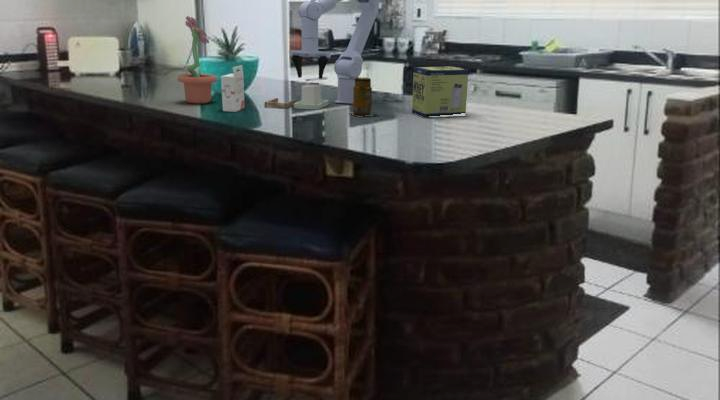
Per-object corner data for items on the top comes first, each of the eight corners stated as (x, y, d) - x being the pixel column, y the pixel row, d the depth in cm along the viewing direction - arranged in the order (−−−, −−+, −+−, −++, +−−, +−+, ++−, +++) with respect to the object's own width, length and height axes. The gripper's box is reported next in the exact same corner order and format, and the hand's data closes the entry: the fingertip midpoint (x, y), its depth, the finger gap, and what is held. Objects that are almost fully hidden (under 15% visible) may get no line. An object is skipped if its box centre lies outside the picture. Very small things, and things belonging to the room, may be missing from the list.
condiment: (366, 112, 216) (367, 76, 212) (378, 116, 208) (379, 79, 205) (347, 113, 213) (347, 77, 209) (358, 117, 205) (359, 80, 202)
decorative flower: (225, 104, 227) (221, 16, 218) (188, 106, 220) (182, 16, 211) (209, 98, 239) (205, 15, 230) (173, 101, 231) (167, 15, 222)
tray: (328, 104, 230) (328, 100, 230) (318, 109, 219) (318, 105, 218) (305, 103, 232) (304, 98, 232) (293, 108, 221) (293, 103, 220)
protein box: (410, 113, 216) (412, 66, 211) (451, 111, 221) (454, 66, 216) (424, 118, 206) (426, 69, 202) (466, 116, 211) (469, 69, 207)
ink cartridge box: (231, 107, 220) (229, 64, 216) (245, 108, 219) (243, 64, 215) (221, 111, 212) (219, 66, 208) (235, 112, 211) (233, 67, 207)
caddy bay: (297, 104, 230) (297, 99, 229) (286, 108, 220) (286, 103, 219) (276, 102, 232) (275, 97, 231) (264, 107, 222) (264, 102, 221)
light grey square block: (320, 103, 229) (320, 82, 226) (313, 107, 221) (313, 85, 219) (308, 103, 230) (308, 82, 227) (301, 106, 222) (301, 84, 220)
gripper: (286, 38, 218) (286, 78, 222) (326, 39, 215) (326, 80, 219) (293, 37, 224) (293, 76, 229) (332, 38, 221) (332, 77, 225)
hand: (310, 77), depth 224 cm, fingers open, 7 cm apart
